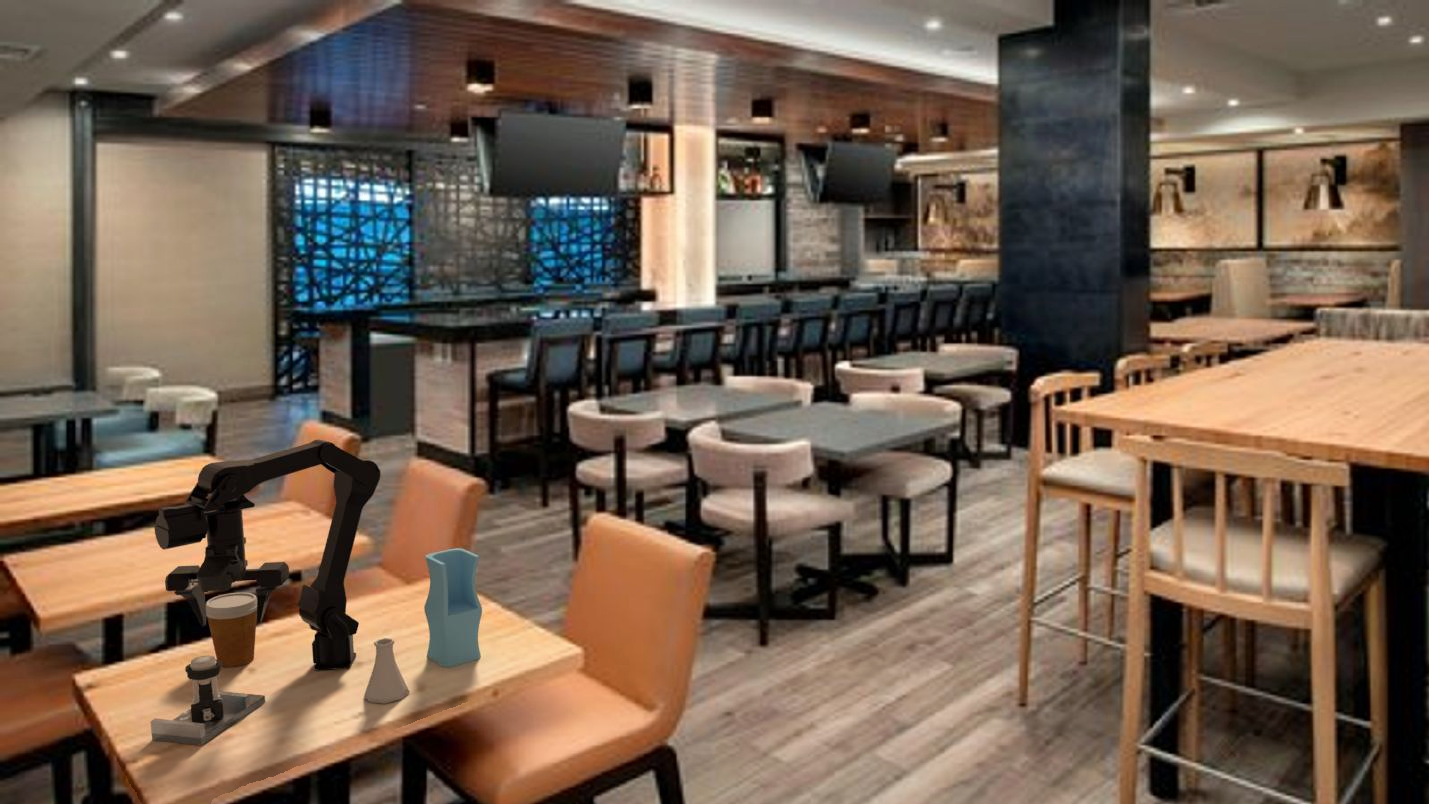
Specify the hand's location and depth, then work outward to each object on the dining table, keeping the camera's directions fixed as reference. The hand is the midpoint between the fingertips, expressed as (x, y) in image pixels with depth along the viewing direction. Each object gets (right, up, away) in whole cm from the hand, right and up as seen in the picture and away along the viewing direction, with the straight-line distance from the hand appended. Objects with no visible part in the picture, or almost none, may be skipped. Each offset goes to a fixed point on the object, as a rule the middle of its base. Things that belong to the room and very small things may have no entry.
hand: (231, 623), depth 180 cm
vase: (+34, -10, +19) cm, 40 cm away
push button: (0, -14, -10) cm, 17 cm away
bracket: (0, -14, -8) cm, 16 cm away
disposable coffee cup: (-7, -11, +17) cm, 21 cm away
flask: (+26, -13, +2) cm, 29 cm away
